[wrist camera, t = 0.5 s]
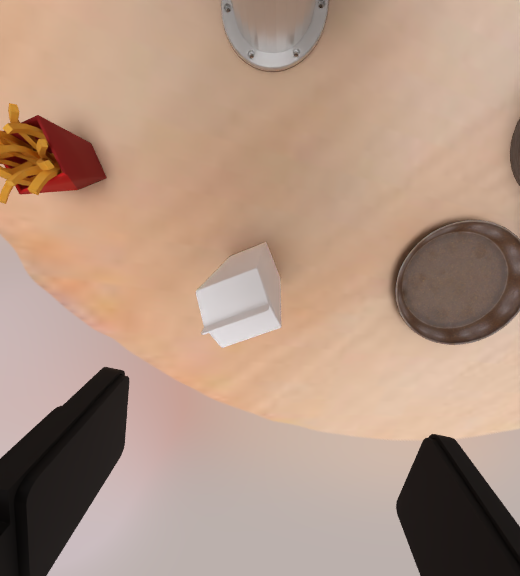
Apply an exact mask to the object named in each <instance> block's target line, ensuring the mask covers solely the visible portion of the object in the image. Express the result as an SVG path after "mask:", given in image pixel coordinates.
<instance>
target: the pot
mask: <svg viewBox="0 0 520 576" xmlns="http://www.w3.org/2000/svg"><path fill="white" fill-rule="evenodd" d="M510 161H511V167H512V171H513V174H514V177H515V179H516V181H517V183H518V184H519V185H520V119H519V121H518V123H517V125H516V128H515V131H514V133H513V137H512V142H511V149H510Z"/></svg>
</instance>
